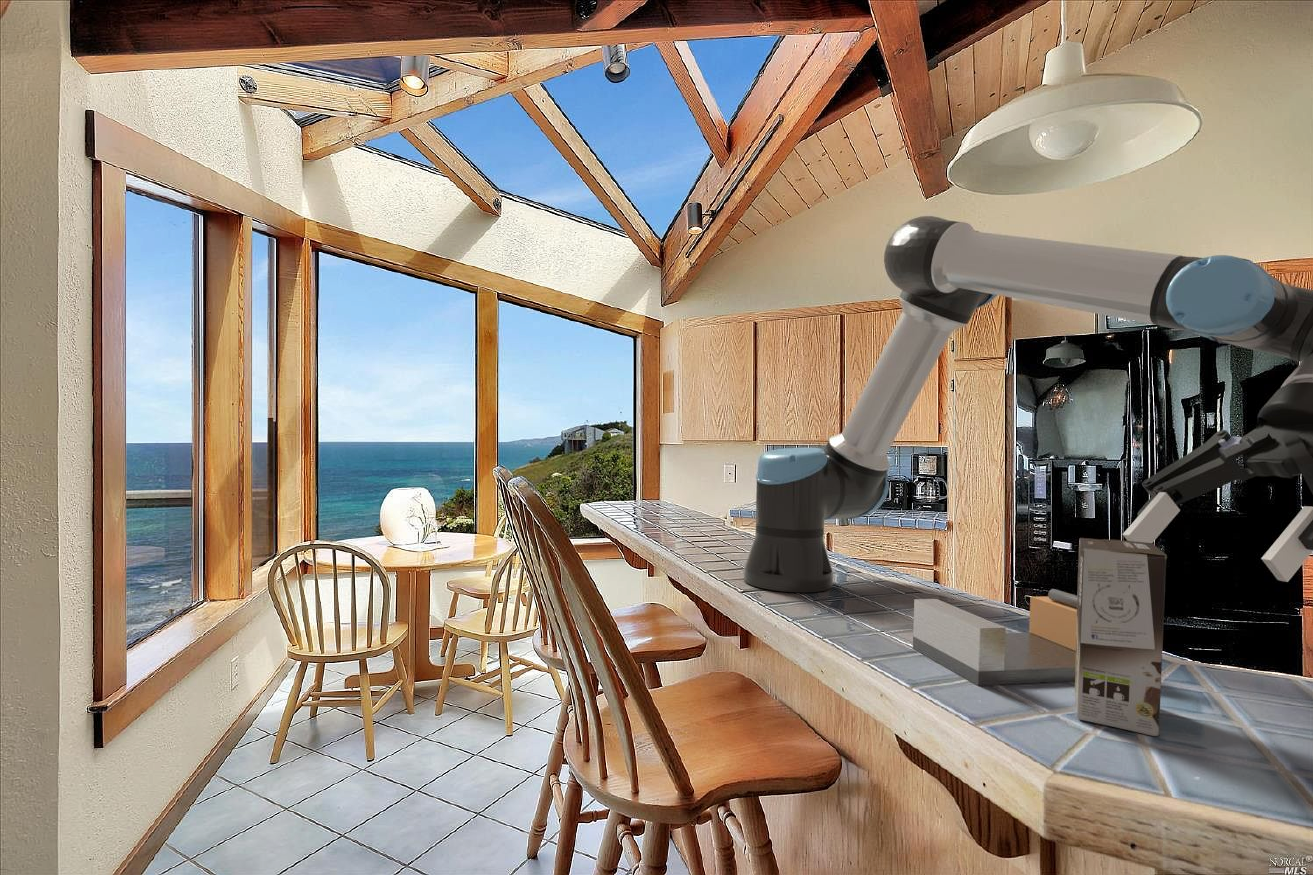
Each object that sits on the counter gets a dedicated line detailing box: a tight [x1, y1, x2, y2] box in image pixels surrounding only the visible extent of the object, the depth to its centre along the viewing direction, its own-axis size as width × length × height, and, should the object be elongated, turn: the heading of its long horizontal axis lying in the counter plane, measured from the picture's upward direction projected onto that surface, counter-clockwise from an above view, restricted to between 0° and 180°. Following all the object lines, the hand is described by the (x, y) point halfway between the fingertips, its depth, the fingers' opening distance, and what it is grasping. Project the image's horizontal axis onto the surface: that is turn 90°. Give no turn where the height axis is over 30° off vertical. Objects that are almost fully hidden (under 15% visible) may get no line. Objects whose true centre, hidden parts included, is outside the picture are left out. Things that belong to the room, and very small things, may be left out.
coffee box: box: [1074, 537, 1168, 737], centre depth 63 cm, size 9×6×16 cm
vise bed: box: [912, 598, 1076, 687], centre depth 77 cm, size 12×20×6 cm, turn 101°
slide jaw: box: [1028, 588, 1077, 651], centre depth 78 cm, size 12×3×6 cm, turn 11°
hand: (1195, 556), depth 64 cm, fingers open, 13 cm apart
